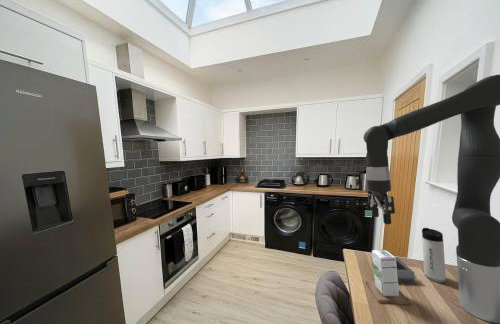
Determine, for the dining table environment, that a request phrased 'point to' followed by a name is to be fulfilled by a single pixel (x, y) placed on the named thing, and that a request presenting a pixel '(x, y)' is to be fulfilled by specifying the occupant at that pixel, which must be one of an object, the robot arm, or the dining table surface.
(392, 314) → the dining table surface
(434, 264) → the travel mug
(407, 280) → the frame
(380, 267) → the syrup box
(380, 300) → the walnut board
